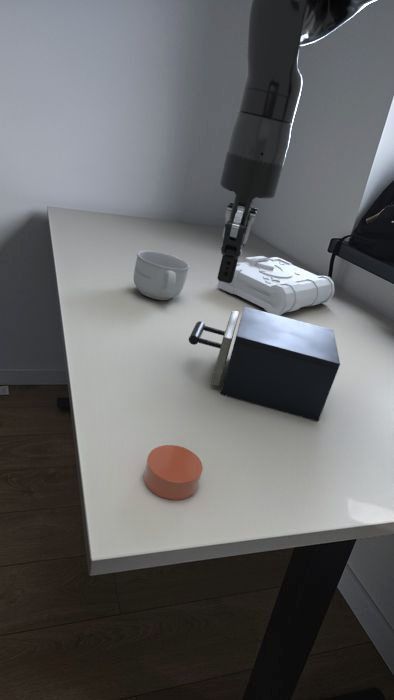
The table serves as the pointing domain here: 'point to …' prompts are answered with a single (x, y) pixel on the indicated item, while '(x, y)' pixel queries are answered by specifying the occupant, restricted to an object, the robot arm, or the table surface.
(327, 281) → the book
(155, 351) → the table surface
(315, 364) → the cabinet
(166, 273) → the teacup
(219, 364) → the drawer
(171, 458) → the cylinder
